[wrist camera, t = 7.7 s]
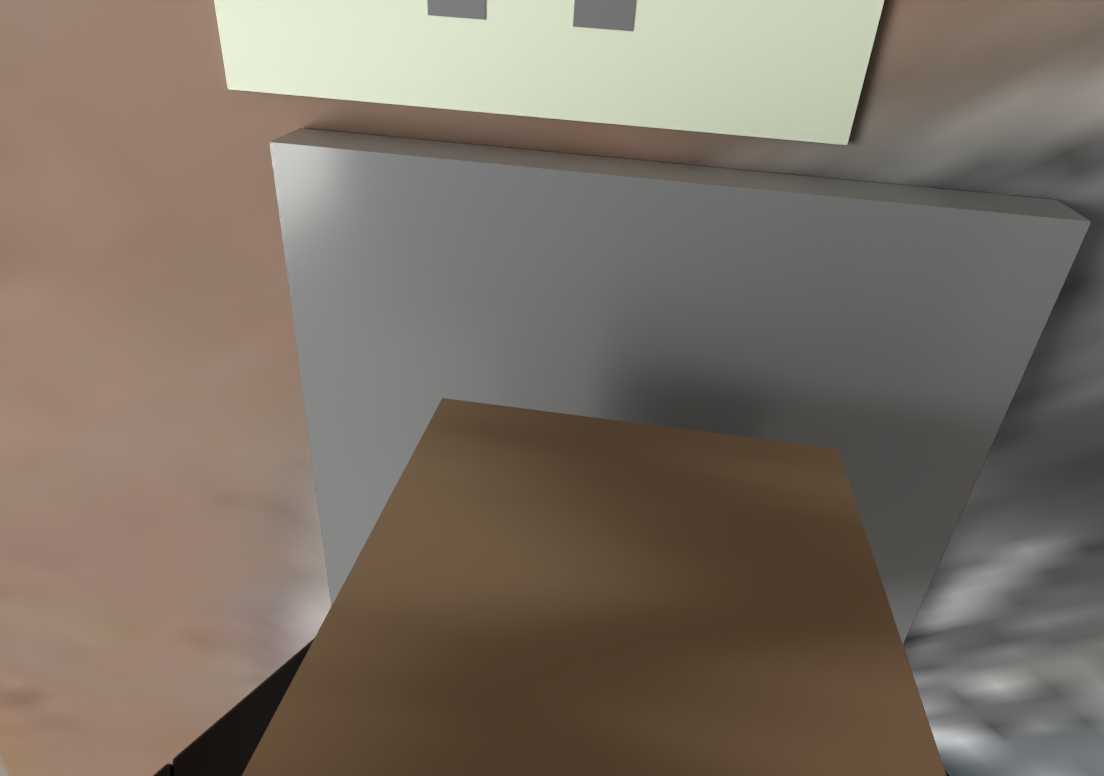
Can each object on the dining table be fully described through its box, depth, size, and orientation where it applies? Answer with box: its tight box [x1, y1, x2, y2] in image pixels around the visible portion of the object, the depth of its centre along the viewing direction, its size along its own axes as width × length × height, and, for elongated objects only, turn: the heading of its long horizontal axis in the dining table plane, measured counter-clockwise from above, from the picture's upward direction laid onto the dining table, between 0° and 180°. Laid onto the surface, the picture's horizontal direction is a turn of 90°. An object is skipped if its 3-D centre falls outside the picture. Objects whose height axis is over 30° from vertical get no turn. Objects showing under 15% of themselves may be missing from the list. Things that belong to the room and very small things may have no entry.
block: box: [242, 398, 946, 776], centre depth 8 cm, size 5×5×6 cm
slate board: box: [270, 128, 1091, 644], centre depth 13 cm, size 11×10×1 cm
